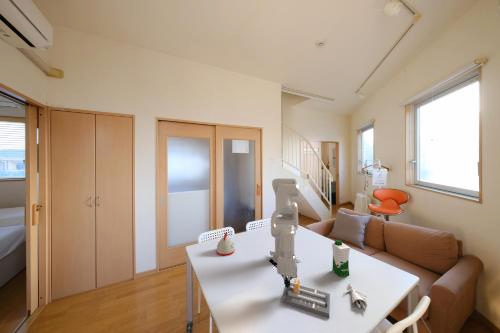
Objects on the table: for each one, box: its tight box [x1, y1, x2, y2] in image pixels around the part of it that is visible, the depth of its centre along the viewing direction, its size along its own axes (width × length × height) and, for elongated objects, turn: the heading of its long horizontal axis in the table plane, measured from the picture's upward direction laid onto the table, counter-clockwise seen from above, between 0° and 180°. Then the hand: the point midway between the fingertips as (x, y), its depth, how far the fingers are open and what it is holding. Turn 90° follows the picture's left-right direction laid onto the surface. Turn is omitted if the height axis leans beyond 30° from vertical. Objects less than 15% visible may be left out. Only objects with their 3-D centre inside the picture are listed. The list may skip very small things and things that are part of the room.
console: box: [281, 282, 331, 319], centre depth 94 cm, size 22×14×3 cm, turn 65°
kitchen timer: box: [216, 231, 235, 257], centre depth 145 cm, size 14×14×15 cm
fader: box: [293, 278, 301, 295], centre depth 96 cm, size 3×4×6 cm
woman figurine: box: [343, 283, 368, 310], centre depth 95 cm, size 12×4×18 cm
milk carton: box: [331, 239, 351, 278], centre depth 116 cm, size 9×9×20 cm
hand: (287, 286), depth 98 cm, fingers closed
